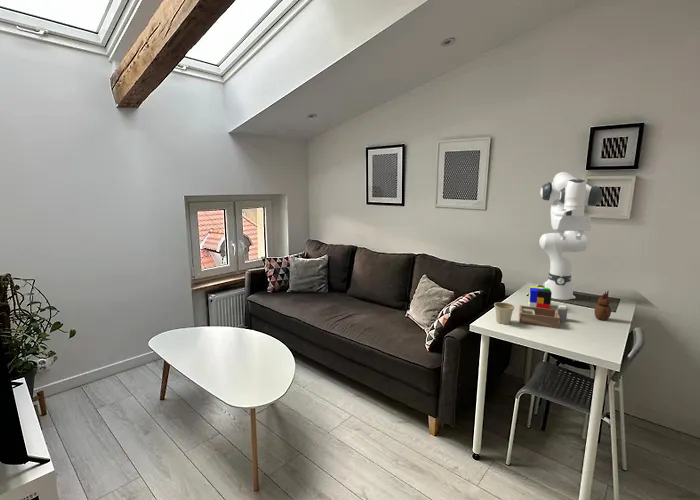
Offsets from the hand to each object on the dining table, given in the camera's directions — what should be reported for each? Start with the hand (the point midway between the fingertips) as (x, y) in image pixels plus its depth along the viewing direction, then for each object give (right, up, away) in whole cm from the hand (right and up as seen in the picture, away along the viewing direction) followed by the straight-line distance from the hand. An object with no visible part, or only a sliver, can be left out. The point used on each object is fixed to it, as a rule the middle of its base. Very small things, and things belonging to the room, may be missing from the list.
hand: (570, 239), depth 182 cm
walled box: (-17, -41, -1) cm, 44 cm away
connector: (-4, -40, +1) cm, 41 cm away
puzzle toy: (-5, -37, +21) cm, 43 cm away
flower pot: (-35, -41, -3) cm, 54 cm away
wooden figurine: (+17, -41, +2) cm, 44 cm away
